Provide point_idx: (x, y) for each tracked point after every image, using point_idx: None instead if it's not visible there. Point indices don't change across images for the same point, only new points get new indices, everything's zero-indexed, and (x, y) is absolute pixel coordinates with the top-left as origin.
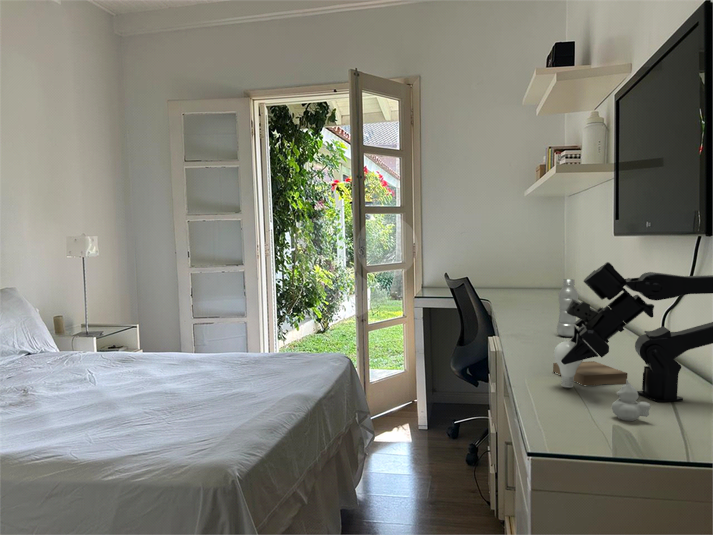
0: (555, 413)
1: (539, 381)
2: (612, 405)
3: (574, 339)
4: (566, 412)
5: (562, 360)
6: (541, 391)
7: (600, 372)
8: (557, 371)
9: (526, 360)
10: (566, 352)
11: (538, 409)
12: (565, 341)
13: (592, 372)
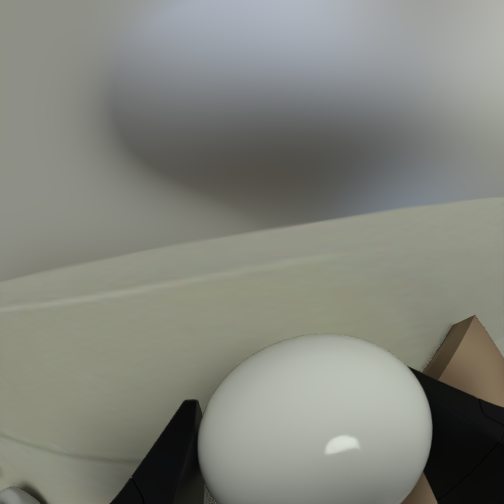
0: (6, 356)
1: (328, 305)
2: (7, 488)
3: (488, 450)
4: (17, 386)
5: (181, 408)
6: (184, 326)
7: (432, 492)
8: (449, 340)
9: (497, 237)
10: (199, 444)
11: (19, 316)
12: (352, 436)
13: (423, 474)
